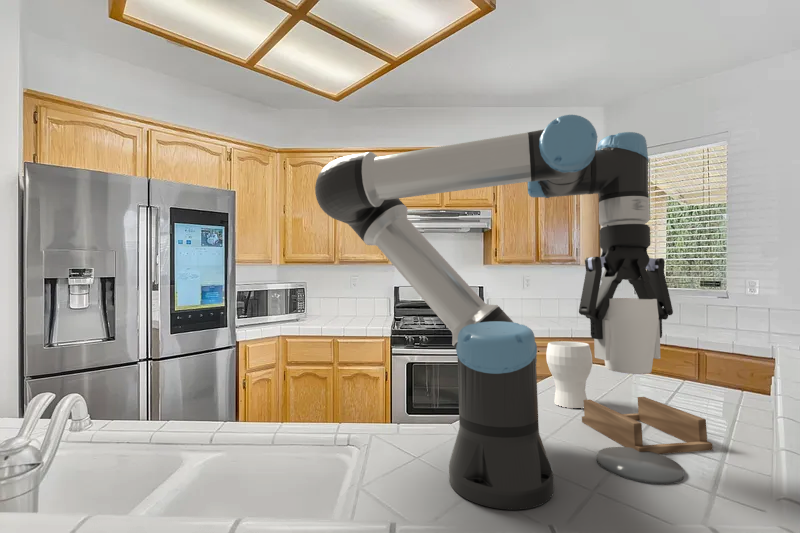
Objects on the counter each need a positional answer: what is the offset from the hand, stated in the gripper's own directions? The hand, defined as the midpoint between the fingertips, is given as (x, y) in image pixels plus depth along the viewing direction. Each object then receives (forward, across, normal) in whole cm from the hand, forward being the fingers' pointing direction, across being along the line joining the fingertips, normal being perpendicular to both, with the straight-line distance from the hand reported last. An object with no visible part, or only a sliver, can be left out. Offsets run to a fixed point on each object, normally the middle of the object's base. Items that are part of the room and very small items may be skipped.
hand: (627, 358), depth 65 cm
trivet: (+17, 0, -2) cm, 17 cm away
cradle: (+17, +11, +10) cm, 22 cm away
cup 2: (+2, 0, 0) cm, 2 cm away
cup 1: (+17, +10, +31) cm, 37 cm away
